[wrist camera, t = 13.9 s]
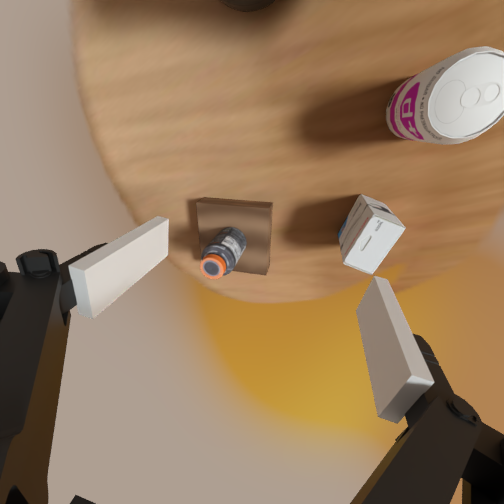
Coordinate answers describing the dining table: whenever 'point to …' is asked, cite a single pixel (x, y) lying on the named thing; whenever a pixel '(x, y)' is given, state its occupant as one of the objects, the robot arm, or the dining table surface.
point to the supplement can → (450, 99)
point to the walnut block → (247, 221)
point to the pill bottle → (222, 253)
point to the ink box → (368, 234)
